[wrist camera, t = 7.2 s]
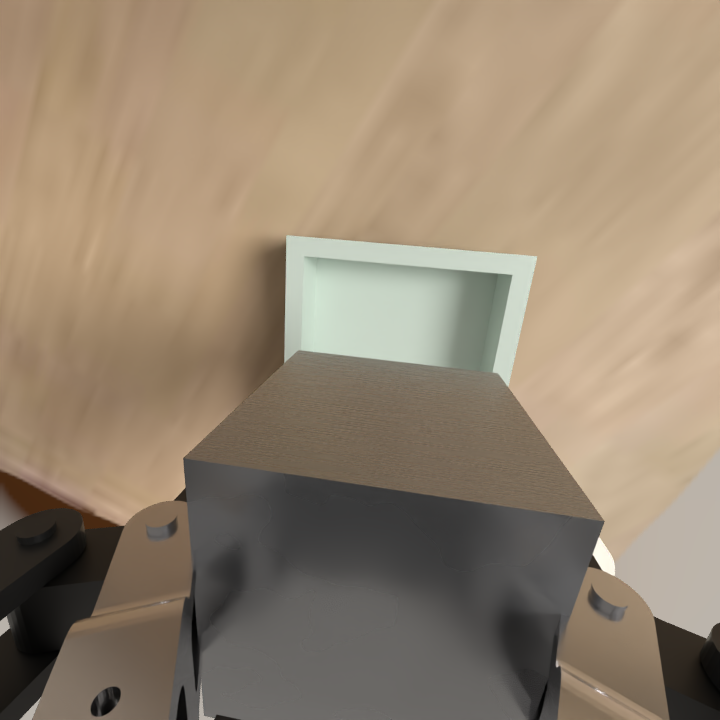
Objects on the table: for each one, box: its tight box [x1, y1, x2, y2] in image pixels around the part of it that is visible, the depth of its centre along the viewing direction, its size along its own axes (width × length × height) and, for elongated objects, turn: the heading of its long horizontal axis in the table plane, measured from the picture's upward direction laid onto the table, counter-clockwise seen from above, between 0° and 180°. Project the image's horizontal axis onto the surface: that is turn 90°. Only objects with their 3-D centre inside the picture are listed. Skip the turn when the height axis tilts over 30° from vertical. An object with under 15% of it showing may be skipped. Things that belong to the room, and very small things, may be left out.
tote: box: [284, 235, 537, 386], centre depth 23 cm, size 13×13×4 cm
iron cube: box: [183, 350, 604, 720], centre depth 9 cm, size 6×6×6 cm
